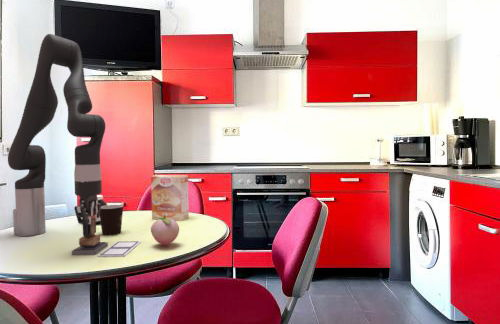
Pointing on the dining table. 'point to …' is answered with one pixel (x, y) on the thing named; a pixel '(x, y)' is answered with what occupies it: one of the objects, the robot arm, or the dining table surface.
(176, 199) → the coffeecake box
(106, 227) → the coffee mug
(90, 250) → the ink pad
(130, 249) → the sheet
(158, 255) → the dining table surface
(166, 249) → the dining table surface
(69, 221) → the dining table surface
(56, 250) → the dining table surface
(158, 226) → the decorative fruit
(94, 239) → the stamp
